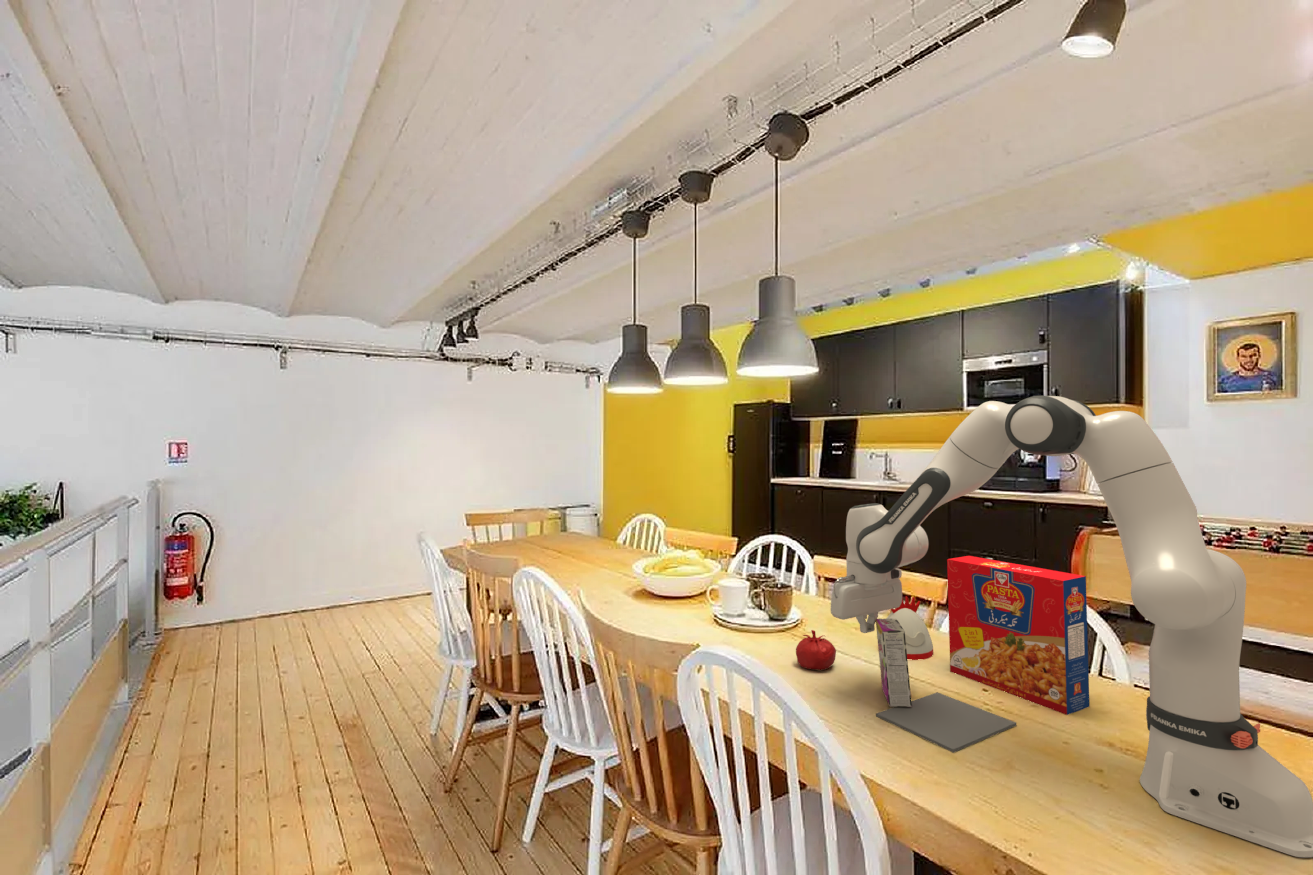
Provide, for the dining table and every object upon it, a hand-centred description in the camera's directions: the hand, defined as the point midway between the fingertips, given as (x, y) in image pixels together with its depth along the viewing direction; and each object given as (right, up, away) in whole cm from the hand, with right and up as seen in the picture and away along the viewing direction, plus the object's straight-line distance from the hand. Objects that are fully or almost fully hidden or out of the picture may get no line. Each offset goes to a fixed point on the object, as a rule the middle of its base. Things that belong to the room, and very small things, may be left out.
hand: (867, 631), depth 145 cm
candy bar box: (+4, -13, -7) cm, 15 cm away
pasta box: (+33, -13, -2) cm, 36 cm away
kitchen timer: (+19, -13, +24) cm, 33 cm away
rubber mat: (+10, -13, -17) cm, 24 cm away
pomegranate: (-8, -14, +15) cm, 22 cm away
